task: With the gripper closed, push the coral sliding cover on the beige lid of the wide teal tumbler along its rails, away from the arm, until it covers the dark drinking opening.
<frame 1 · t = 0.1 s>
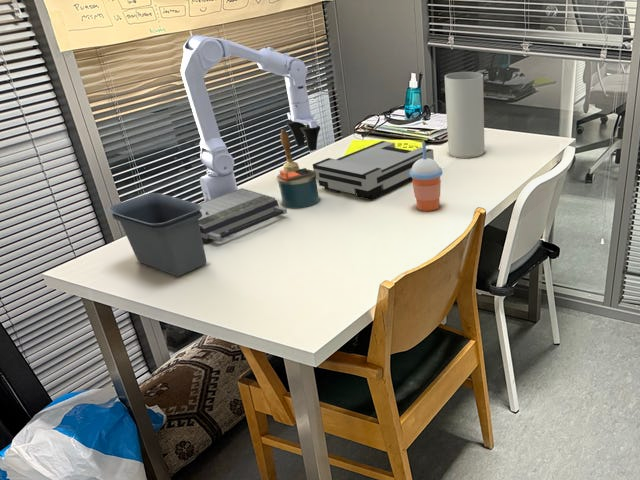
hand: (306, 147, 201), 10 cm above the table, tool pointing down, fingers open, 7 cm apart
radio: (230, 224, 179), on the table
cylinder vase: (466, 153, 226), on the table
cup with straw: (428, 207, 185), on the table
hand bell: (294, 181, 207), on the table
game console: (377, 181, 205), on the table
storage bin: (176, 262, 160), on the table
slider: (289, 173, 185), point 9 cm above the table, slide at 0.0 cm
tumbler: (301, 201, 191), on the table
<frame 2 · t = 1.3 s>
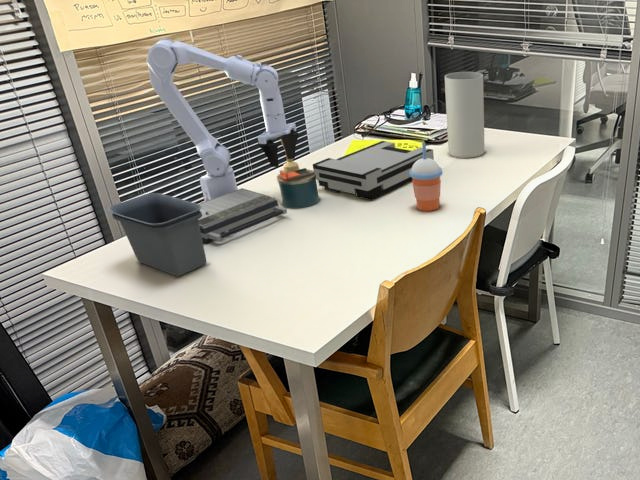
hand: (283, 162, 189), 10 cm above the table, tool pointing down, fingers open, 7 cm apart
nothing on the table moved.
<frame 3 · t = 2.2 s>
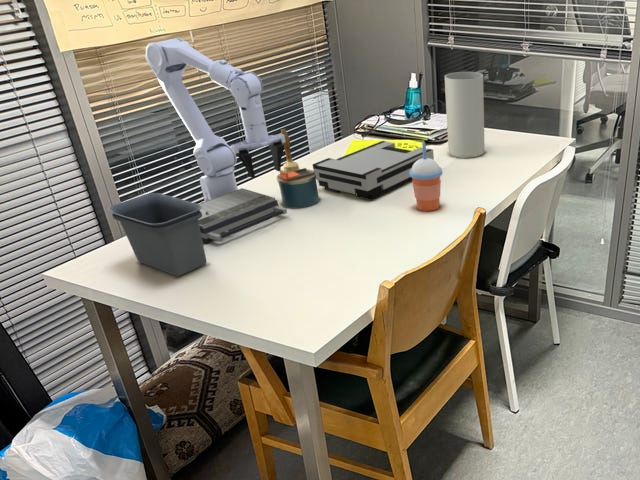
hand: (265, 173, 181), 10 cm above the table, tool pointing down, fingers open, 7 cm apart
nothing on the table moved.
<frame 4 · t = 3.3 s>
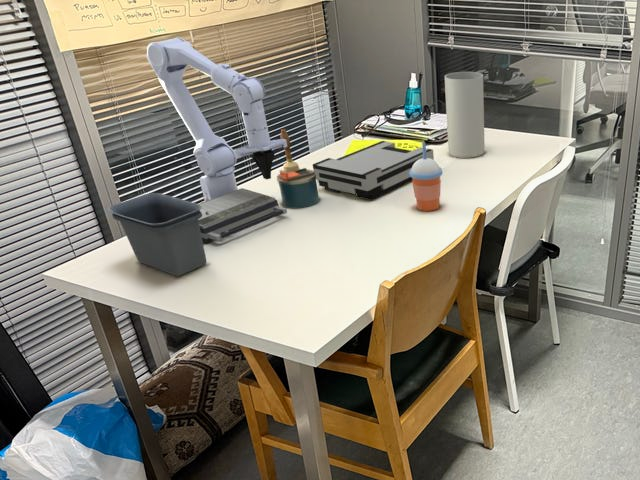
hand: (267, 178, 182), 9 cm above the table, tool pointing down, fingers closed
nothing on the table moved.
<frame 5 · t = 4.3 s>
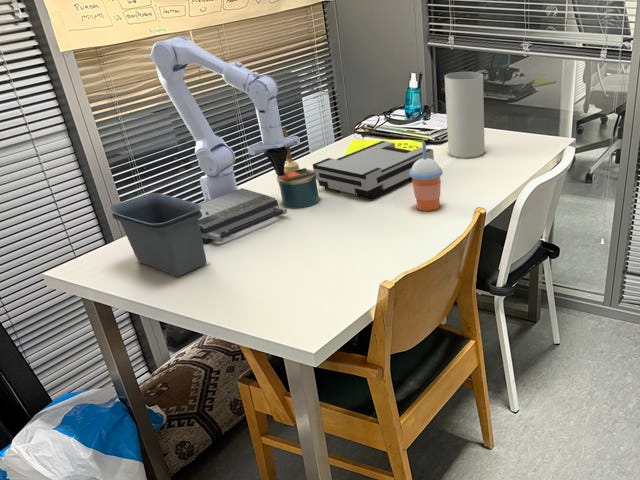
hand: (280, 175, 184), 9 cm above the table, tool pointing down, fingers closed
slider: (289, 173, 185), point 9 cm above the table, slide at 0.1 cm, touching gripper
everything else where it was.
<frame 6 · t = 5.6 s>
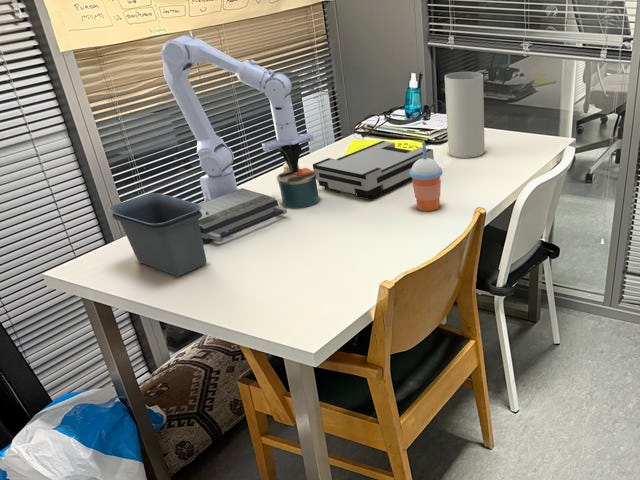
hand: (293, 171, 186), 9 cm above the table, tool pointing down, fingers closed
slider: (303, 170, 188), point 9 cm above the table, slide at 4.3 cm, touching gripper
everything else where it was.
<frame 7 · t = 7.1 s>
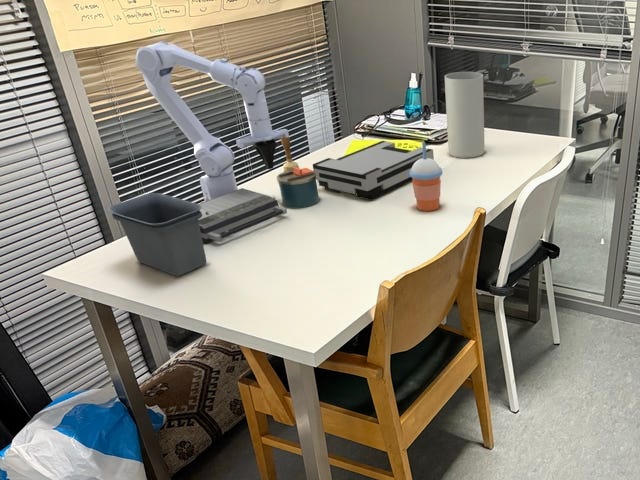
hand: (269, 168, 185), 10 cm above the table, tool pointing down, fingers closed
slider: (303, 170, 188), point 9 cm above the table, slide at 4.3 cm
everything else where it was.
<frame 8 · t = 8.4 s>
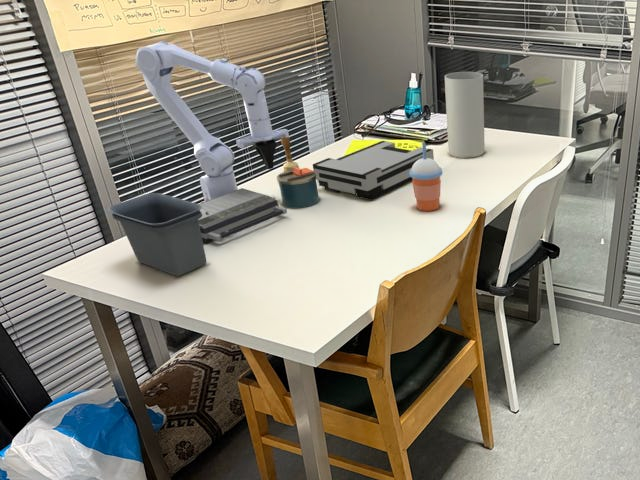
hand: (269, 168, 185), 10 cm above the table, tool pointing down, fingers closed
nothing on the table moved.
at the end: slider slide at 4.3 cm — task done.
